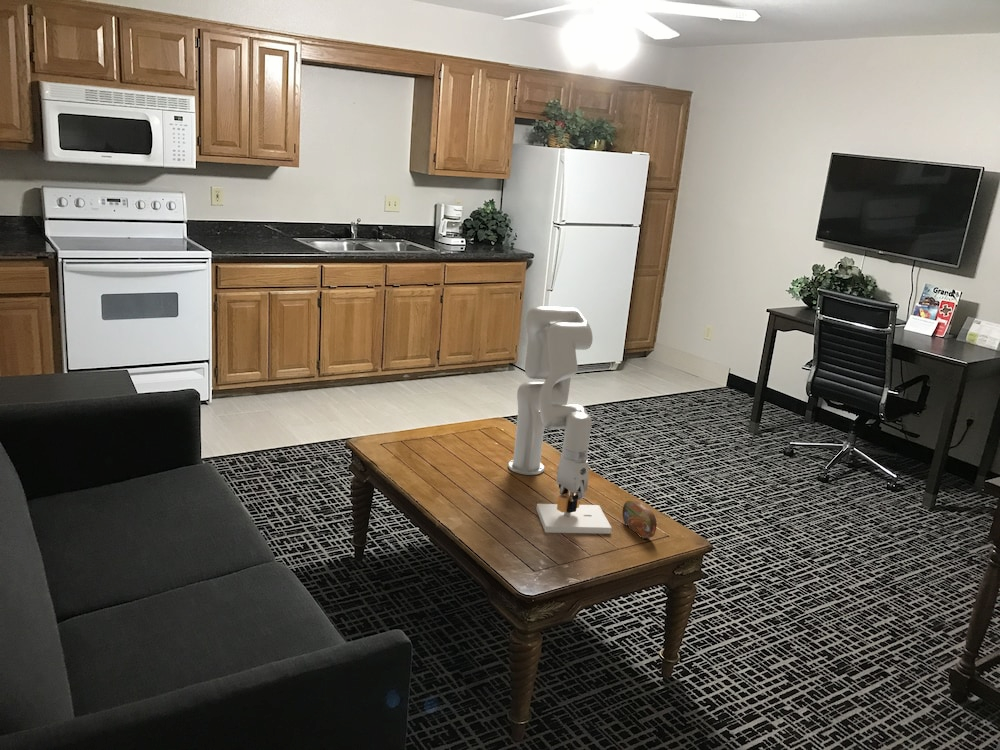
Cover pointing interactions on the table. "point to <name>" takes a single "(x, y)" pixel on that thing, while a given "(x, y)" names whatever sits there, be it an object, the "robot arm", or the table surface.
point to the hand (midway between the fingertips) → (567, 508)
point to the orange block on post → (565, 502)
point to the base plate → (573, 519)
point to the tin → (639, 519)
